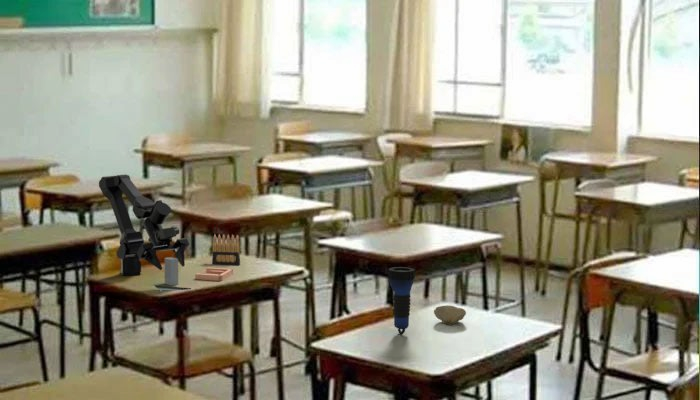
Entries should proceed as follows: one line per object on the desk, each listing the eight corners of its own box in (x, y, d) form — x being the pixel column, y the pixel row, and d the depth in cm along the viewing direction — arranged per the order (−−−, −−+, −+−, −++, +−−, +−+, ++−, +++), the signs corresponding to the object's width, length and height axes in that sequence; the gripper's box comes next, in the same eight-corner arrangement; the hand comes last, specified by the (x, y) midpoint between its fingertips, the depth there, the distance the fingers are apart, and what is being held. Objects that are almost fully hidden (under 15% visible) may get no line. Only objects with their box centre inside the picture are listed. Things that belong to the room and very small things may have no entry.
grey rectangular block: (164, 285, 410) (164, 258, 409) (172, 284, 412) (171, 257, 411) (171, 287, 408) (170, 259, 406) (178, 286, 409) (178, 258, 408)
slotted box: (195, 282, 418) (195, 274, 418) (207, 275, 430) (207, 267, 429) (221, 284, 416) (221, 275, 415) (232, 277, 427) (232, 269, 427)
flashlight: (398, 328, 357) (399, 265, 354) (418, 333, 353) (420, 268, 350) (382, 334, 351) (383, 269, 348) (403, 338, 346) (404, 272, 343)
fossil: (469, 307, 362) (439, 301, 360) (469, 319, 359) (439, 314, 358) (459, 320, 369) (429, 314, 367) (459, 332, 367) (429, 327, 365)
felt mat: (159, 291, 403) (159, 290, 403) (154, 285, 412) (154, 285, 412) (191, 289, 407) (191, 288, 407) (185, 283, 416) (185, 282, 415)
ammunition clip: (212, 264, 449) (211, 233, 448) (213, 263, 451) (212, 233, 449) (239, 265, 448) (239, 234, 447) (240, 264, 450) (240, 234, 448)
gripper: (141, 221, 404) (158, 257, 397) (186, 215, 416) (204, 251, 409) (129, 239, 411) (146, 276, 404) (174, 234, 423) (191, 269, 416)
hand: (172, 267), depth 408 cm, fingers open, 9 cm apart
